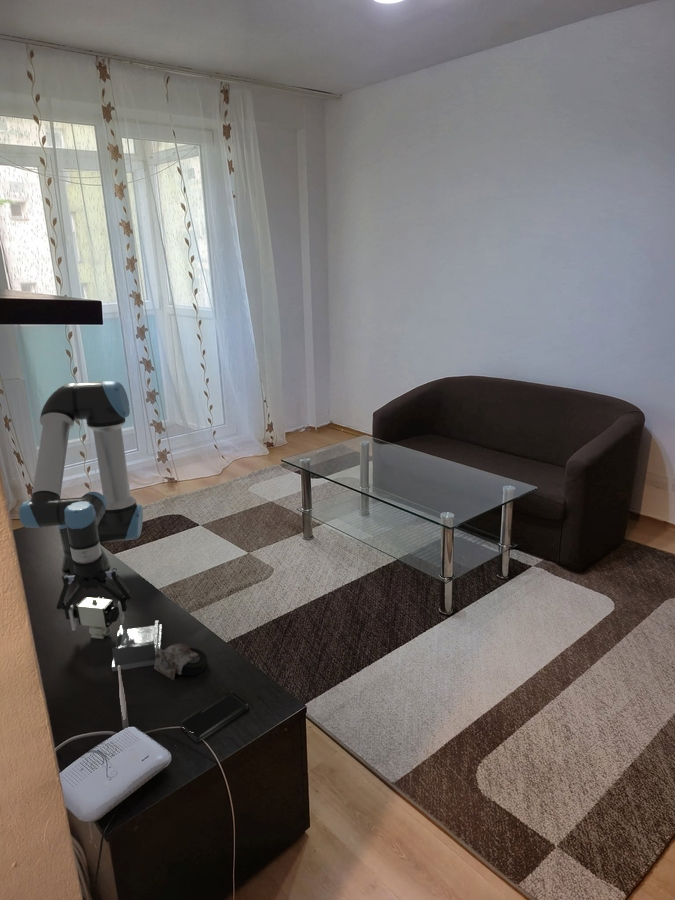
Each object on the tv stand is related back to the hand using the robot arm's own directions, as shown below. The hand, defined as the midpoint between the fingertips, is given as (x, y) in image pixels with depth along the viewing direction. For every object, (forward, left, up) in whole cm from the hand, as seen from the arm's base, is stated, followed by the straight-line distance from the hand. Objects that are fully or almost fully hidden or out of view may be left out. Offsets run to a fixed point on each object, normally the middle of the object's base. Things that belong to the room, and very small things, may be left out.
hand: (98, 624), depth 176 cm
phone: (+40, +31, -4) cm, 51 cm away
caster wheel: (+21, +24, -4) cm, 32 cm away
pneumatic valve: (0, 0, -4) cm, 4 cm away
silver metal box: (+9, +11, -4) cm, 15 cm away
